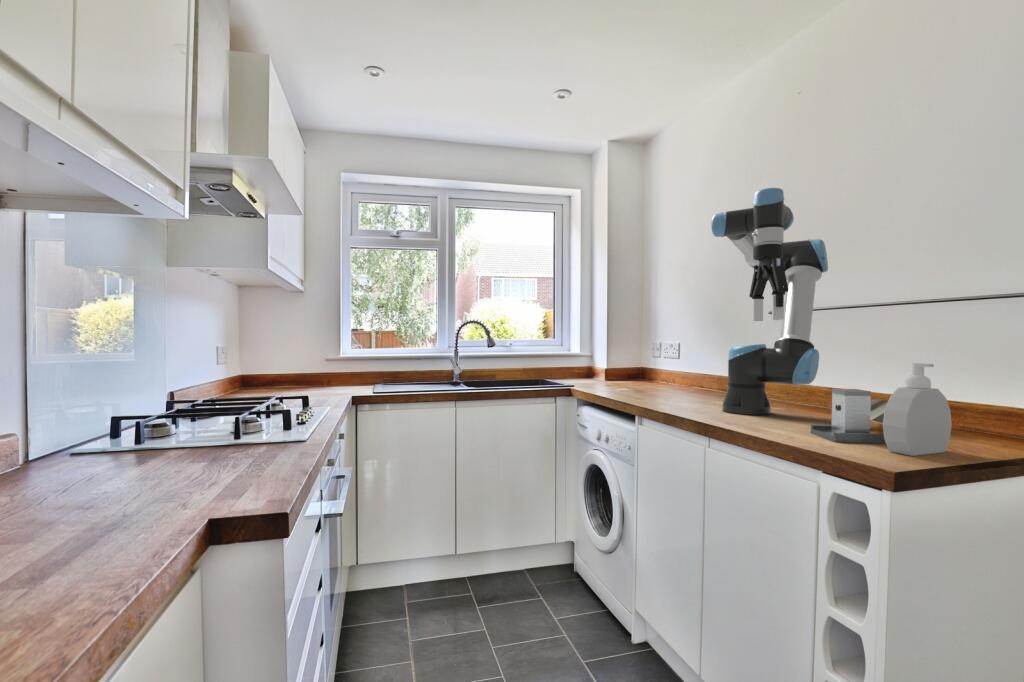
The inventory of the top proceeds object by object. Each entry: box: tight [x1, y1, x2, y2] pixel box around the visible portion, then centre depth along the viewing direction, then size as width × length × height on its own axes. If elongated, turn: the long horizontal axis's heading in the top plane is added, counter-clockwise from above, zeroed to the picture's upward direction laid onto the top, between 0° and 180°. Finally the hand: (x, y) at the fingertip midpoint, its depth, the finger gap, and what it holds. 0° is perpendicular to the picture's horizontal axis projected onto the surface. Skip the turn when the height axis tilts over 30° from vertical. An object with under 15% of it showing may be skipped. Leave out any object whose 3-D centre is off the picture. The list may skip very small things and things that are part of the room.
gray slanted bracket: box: [829, 398, 888, 424], centre depth 144 cm, size 16×9×15 cm
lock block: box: [831, 388, 872, 433], centre depth 127 cm, size 6×6×11 cm
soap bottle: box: [883, 362, 953, 457], centre depth 111 cm, size 16×5×20 cm, turn 111°
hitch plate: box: [810, 420, 887, 445], centre depth 127 cm, size 12×14×4 cm
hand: (767, 320), depth 140 cm, fingers open, 13 cm apart
